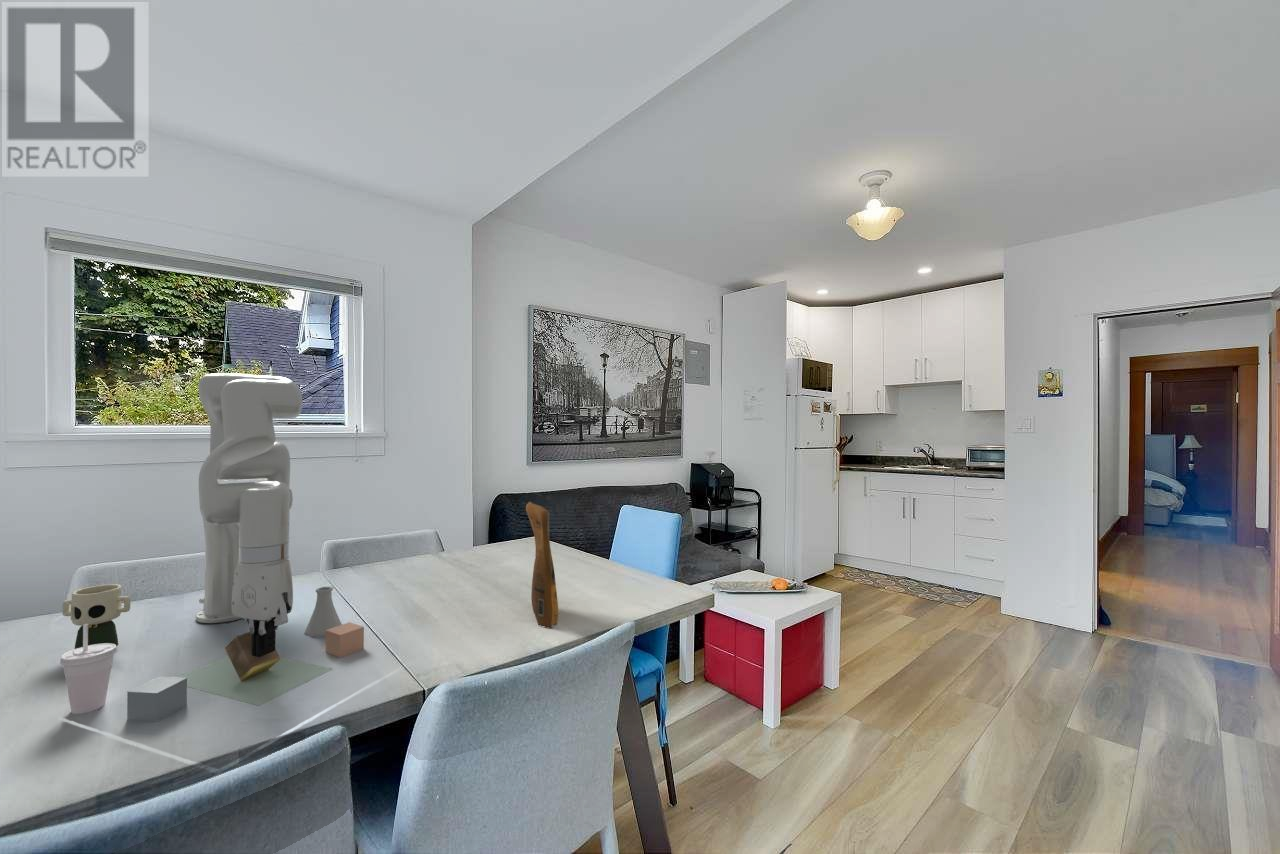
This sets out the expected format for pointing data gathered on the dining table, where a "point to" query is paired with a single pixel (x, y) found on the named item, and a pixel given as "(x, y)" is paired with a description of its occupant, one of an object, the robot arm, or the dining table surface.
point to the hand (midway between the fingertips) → (263, 653)
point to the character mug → (96, 612)
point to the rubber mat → (252, 679)
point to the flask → (323, 614)
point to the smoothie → (88, 674)
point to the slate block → (156, 699)
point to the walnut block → (248, 657)
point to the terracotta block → (344, 639)
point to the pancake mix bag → (543, 569)
